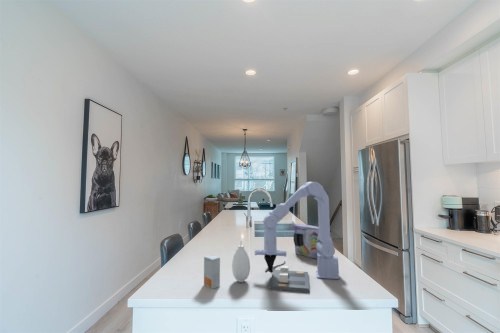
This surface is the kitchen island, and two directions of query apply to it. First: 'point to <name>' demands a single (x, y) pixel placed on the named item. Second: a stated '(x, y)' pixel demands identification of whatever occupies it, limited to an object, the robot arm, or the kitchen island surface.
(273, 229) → the robot arm
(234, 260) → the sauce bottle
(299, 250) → the cake pan box
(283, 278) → the white rectangular block
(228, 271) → the kitchen island surface
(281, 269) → the far tab
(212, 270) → the skincare box
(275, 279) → the panel
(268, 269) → the pliers
